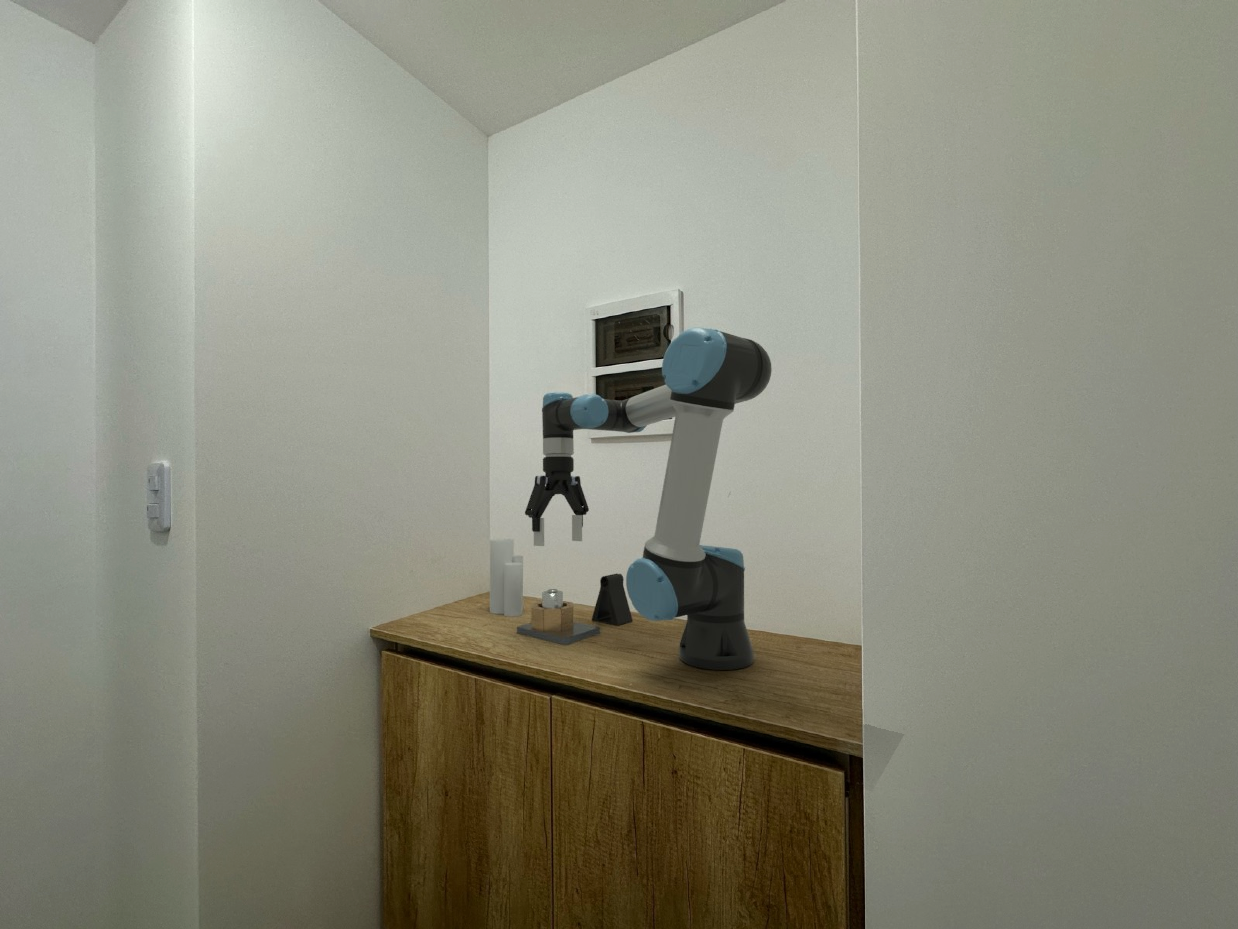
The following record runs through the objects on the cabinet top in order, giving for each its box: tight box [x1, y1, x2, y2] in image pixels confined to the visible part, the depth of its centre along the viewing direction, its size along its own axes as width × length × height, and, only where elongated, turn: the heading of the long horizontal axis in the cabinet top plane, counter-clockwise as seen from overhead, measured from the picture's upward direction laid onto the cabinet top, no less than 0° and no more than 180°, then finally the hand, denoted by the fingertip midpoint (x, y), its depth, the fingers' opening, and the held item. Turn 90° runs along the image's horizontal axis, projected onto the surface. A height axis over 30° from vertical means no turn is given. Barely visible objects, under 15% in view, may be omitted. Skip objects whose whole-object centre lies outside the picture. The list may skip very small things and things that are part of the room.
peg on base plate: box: [516, 588, 601, 646], centre depth 134 cm, size 16×12×10 cm
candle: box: [489, 538, 524, 618], centre depth 155 cm, size 11×7×20 cm, turn 56°
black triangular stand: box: [591, 573, 633, 627], centre depth 146 cm, size 9×6×12 cm, turn 50°
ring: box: [530, 600, 574, 632], centre depth 135 cm, size 10×10×5 cm
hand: (558, 543), depth 136 cm, fingers open, 13 cm apart
